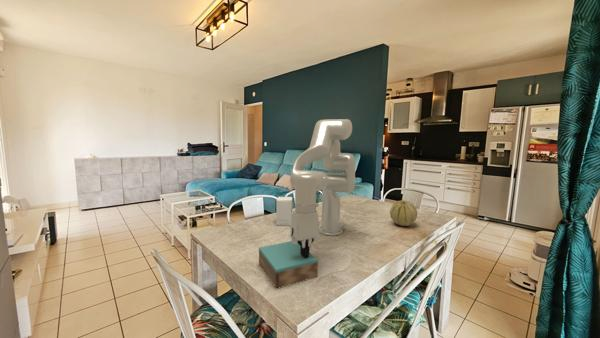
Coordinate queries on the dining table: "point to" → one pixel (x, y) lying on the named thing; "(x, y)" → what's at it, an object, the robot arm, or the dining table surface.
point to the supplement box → (284, 211)
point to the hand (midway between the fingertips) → (304, 256)
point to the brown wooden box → (288, 273)
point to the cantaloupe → (403, 213)
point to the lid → (285, 256)
